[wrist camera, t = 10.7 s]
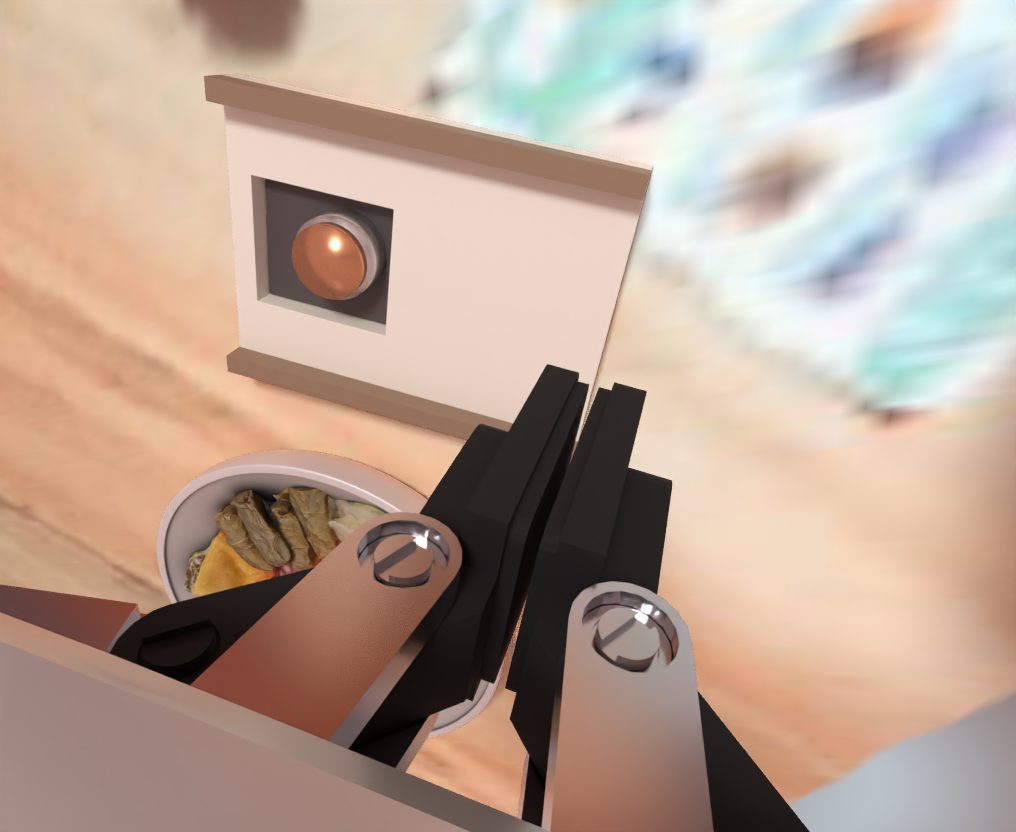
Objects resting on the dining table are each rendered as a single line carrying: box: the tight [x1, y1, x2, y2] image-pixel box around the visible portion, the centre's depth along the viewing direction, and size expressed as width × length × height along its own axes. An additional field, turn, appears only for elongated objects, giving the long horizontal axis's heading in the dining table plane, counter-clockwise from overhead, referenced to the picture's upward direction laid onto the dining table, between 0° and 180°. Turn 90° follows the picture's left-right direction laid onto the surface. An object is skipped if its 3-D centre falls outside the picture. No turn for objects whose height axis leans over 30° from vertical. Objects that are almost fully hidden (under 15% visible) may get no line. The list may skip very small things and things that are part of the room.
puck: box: [292, 208, 387, 300], centre depth 39 cm, size 5×5×3 cm
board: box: [204, 74, 653, 462], centre depth 38 cm, size 24×18×3 cm
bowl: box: [157, 449, 505, 738], centre depth 53 cm, size 30×30×8 cm
